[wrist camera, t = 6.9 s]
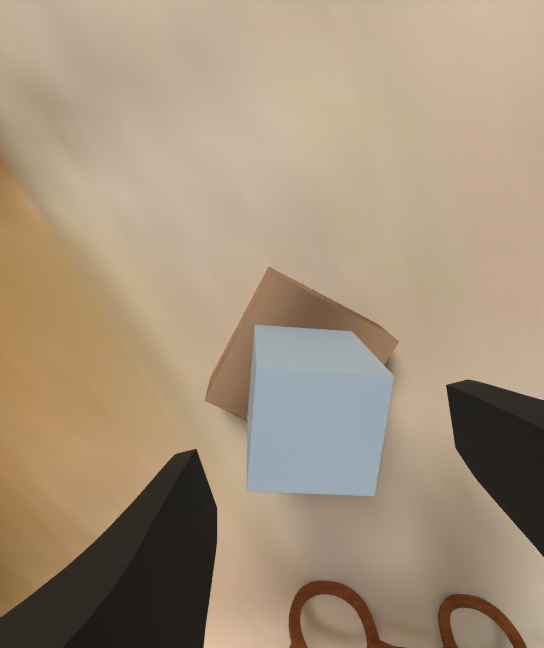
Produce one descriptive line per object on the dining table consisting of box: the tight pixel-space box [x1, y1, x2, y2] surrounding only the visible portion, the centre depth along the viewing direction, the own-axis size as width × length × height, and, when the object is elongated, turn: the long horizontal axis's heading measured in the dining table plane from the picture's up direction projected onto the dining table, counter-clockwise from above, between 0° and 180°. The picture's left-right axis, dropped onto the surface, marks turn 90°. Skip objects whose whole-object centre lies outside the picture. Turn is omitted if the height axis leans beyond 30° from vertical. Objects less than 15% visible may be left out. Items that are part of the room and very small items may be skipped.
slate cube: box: [247, 325, 394, 496], centre depth 14 cm, size 4×4×5 cm
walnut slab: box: [205, 267, 399, 420], centre depth 18 cm, size 6×6×3 cm
